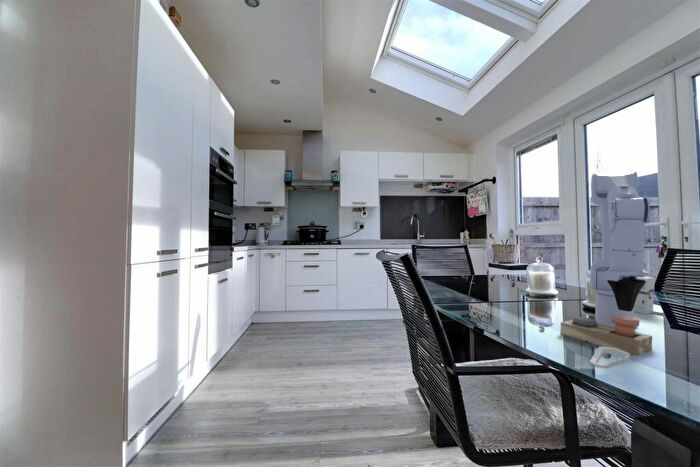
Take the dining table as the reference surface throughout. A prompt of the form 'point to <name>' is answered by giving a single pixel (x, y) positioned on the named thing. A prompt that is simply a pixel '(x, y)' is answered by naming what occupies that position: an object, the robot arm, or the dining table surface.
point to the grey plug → (584, 322)
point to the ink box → (645, 296)
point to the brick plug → (625, 325)
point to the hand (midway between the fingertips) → (625, 310)
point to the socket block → (608, 337)
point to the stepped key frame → (609, 350)
